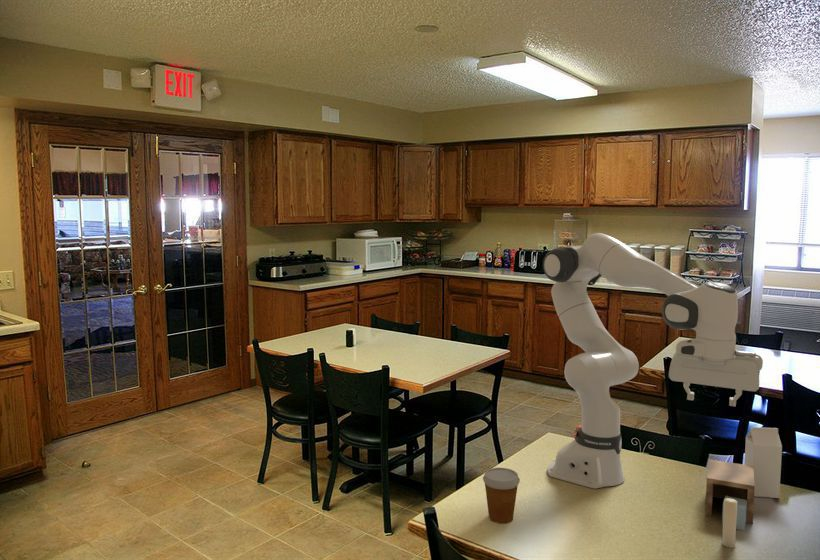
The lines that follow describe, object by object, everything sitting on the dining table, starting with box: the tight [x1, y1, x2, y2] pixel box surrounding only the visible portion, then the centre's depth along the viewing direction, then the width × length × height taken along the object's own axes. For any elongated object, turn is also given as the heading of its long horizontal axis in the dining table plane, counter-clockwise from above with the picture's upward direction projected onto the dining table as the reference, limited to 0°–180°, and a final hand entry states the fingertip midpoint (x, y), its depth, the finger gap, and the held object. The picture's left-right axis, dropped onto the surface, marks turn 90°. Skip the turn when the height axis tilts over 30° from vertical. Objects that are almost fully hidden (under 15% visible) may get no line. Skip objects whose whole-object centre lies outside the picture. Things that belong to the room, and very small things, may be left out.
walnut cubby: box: [704, 458, 755, 525], centre depth 165 cm, size 11×14×10 cm
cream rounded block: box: [721, 495, 747, 549], centre depth 152 cm, size 5×16×11 cm, turn 147°
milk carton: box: [744, 426, 783, 499], centre depth 174 cm, size 7×7×19 cm
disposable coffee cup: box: [482, 467, 521, 525], centre depth 161 cm, size 10×10×12 cm
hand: (711, 402), depth 153 cm, fingers open, 8 cm apart
